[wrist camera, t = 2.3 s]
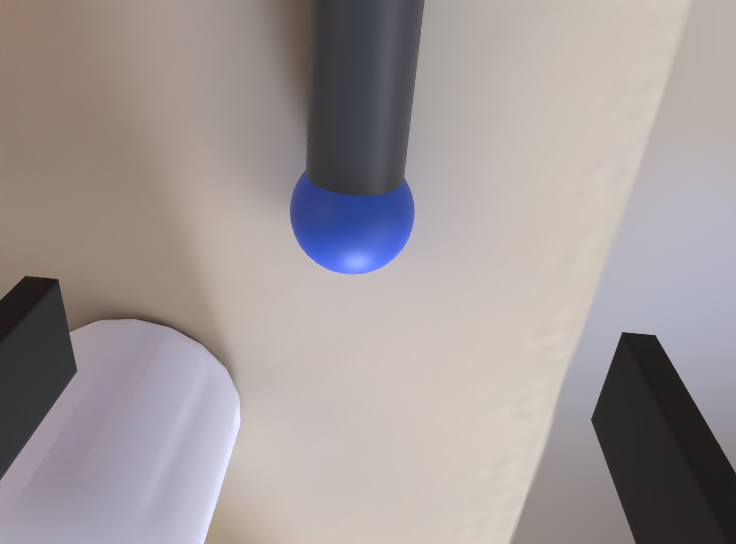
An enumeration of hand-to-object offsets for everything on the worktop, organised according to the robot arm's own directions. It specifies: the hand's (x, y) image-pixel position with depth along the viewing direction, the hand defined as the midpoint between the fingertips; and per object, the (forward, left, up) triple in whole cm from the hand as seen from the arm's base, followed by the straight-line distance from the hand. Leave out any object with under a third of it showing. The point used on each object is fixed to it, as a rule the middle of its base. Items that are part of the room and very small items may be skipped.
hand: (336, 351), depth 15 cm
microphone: (-5, 0, -9) cm, 11 cm away
